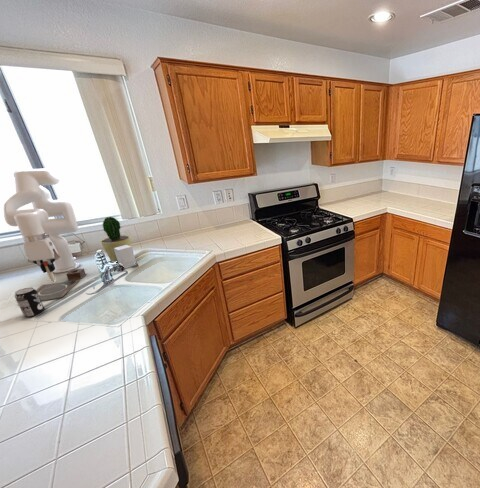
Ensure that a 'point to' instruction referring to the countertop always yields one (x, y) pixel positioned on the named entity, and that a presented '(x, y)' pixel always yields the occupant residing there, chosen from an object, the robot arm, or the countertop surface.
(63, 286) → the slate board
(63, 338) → the countertop surface
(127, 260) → the white packaging box
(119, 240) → the potted cactus
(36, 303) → the beverage can
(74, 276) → the pen holder
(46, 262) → the marker
